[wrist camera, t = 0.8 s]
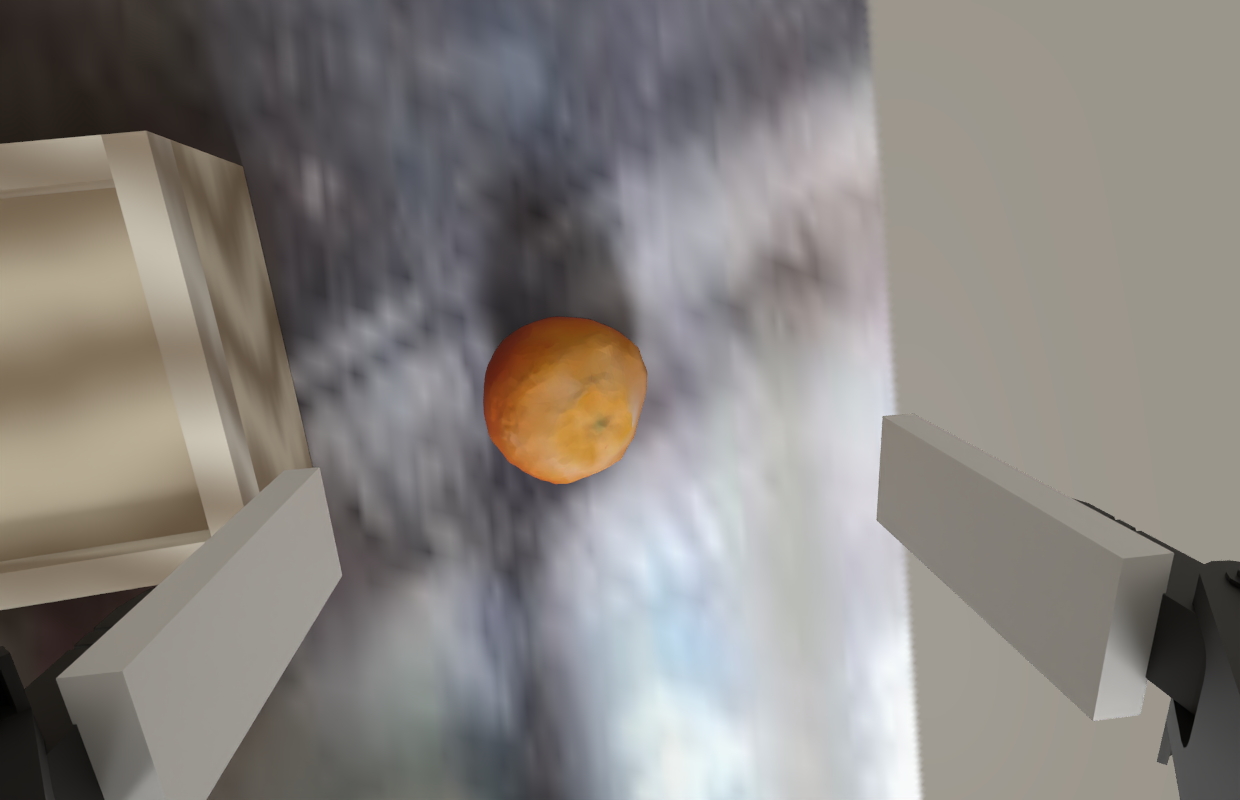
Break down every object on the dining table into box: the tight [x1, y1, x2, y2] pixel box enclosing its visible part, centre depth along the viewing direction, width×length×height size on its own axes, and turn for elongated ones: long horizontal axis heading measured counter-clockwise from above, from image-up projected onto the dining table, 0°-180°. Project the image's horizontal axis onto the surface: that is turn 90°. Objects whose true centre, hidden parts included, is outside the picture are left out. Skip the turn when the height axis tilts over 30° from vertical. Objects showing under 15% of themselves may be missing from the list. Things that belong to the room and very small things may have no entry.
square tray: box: [0, 131, 313, 610], centre depth 27 cm, size 17×17×8 cm
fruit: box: [483, 317, 647, 484], centre depth 31 cm, size 8×8×8 cm
